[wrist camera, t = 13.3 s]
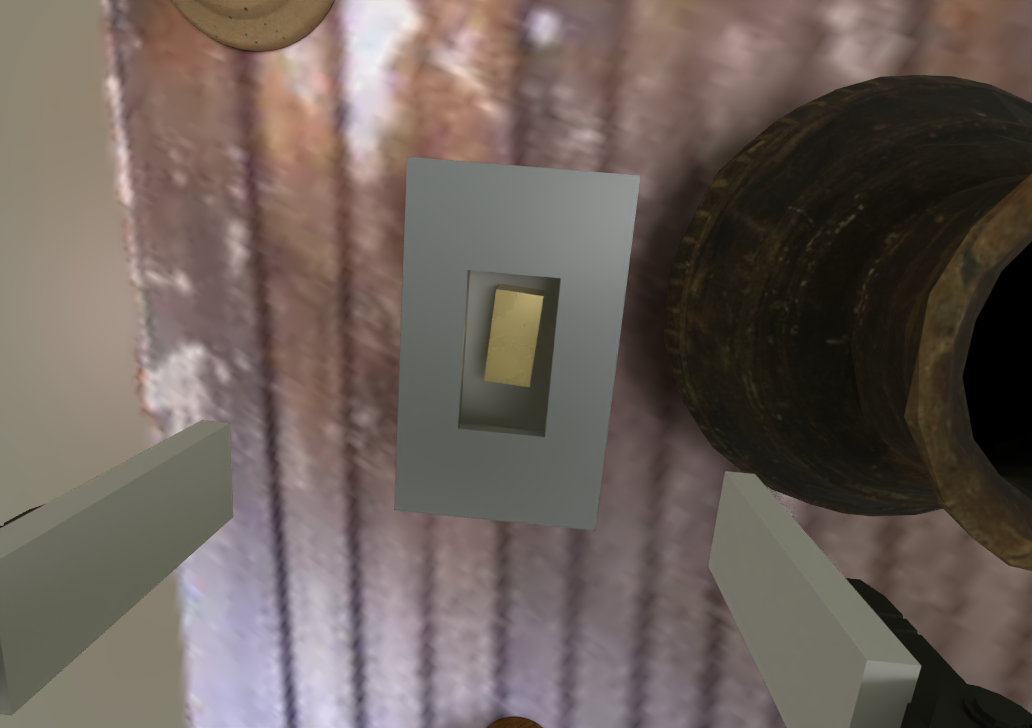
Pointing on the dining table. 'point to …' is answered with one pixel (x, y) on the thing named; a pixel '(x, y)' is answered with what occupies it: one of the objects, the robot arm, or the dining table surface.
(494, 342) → the yellow rectangular block
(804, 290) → the ceramic pot
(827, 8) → the dining table surface
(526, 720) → the disposable coffee cup
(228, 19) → the candle holder
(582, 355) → the box
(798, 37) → the dining table surface
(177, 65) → the dining table surface
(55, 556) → the robot arm
